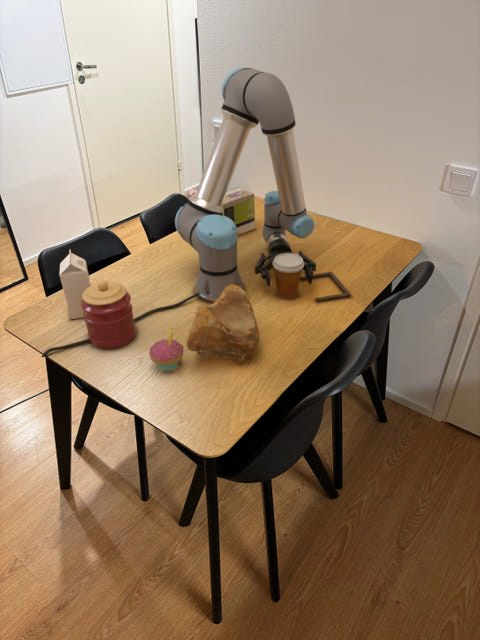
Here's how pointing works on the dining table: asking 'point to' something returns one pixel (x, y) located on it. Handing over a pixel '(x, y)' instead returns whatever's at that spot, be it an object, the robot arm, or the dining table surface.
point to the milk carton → (74, 283)
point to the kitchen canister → (108, 314)
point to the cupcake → (166, 353)
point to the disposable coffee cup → (288, 274)
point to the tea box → (240, 209)
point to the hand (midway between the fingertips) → (289, 281)
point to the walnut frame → (336, 281)
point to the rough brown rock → (225, 327)
